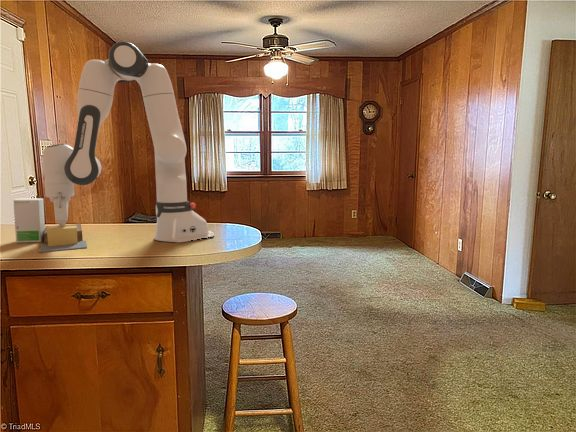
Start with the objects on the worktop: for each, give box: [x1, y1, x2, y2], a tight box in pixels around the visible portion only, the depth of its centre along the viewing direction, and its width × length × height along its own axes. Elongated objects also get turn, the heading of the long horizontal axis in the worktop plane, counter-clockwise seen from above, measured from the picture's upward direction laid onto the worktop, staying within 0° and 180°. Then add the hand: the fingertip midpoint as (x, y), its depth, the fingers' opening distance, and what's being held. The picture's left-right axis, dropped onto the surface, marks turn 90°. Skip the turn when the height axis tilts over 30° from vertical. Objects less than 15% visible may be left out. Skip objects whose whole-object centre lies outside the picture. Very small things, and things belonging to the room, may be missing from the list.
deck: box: [43, 223, 84, 244], centre depth 154 cm, size 12×16×4 cm
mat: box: [39, 240, 88, 254], centre depth 142 cm, size 14×11×1 cm
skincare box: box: [13, 197, 46, 244], centre depth 150 cm, size 8×7×16 cm
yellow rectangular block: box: [47, 226, 78, 246], centre depth 143 cm, size 9×6×2 cm
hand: (63, 230), depth 145 cm, fingers closed
